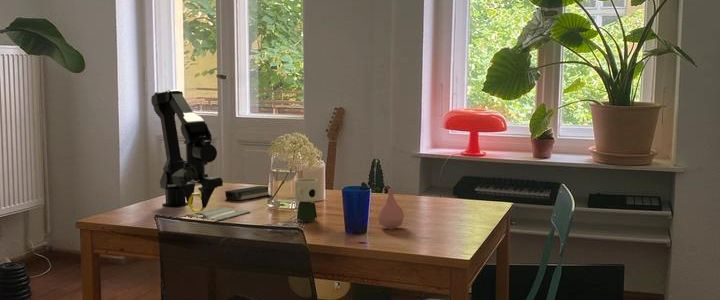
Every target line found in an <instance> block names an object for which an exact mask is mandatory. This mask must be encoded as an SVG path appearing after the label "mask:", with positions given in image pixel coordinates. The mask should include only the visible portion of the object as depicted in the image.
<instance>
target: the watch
mask: <svg viewBox="0 0 720 300" xmlns="http://www.w3.org/2000/svg"><path fill="white" fill-rule="evenodd" d="M194 197H198V198H199V199H200V200H201V201H202V198H201V192H194V193H192V195H191V196H190V197H189V200H188V202H187V203H188V204H189V205H188V204H187V205H188V207H189V209H190V210H191V211H192V212H203V211H205V210H204V209H205V208H203V207H202V206H201V208H200V209H196V208H195V207H194V206H193V202H192V198H193V199H194Z"/></svg>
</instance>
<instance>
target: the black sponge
mask: <svg viewBox="0 0 720 300" xmlns="http://www.w3.org/2000/svg"><path fill="white" fill-rule="evenodd" d="M224 193H225V198H226V199H227V200H233V201H242V200H248V199H254V198H259V197H264V196H269V195H268V186H267V185H265V186H264V185H263V186H262V185H259V186H256V185H255V186H249V187H243V188H237V189H232V190H231V189H230V190H225V191H224Z"/></svg>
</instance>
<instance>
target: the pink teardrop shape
mask: <svg viewBox="0 0 720 300" xmlns="http://www.w3.org/2000/svg"><path fill="white" fill-rule="evenodd" d="M404 218H405V217H404V210H403V209H402V207H401V206H400V205H399V204H398V203H397V200H396V199H395V197H394V188H393V187H392V188H391V187H390V188H387V198H386V200H385V202H384V204H382V206H381V207H380V208H379V209H378V214H377V220H378V223H379V225H380V226H382V227H384V228H386V229H387V230H395V228H397V227H400V226H402V224H403V221H404Z"/></svg>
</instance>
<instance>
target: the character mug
mask: <svg viewBox="0 0 720 300" xmlns="http://www.w3.org/2000/svg"><path fill="white" fill-rule="evenodd" d="M318 189H319V180H318V178H312V177H302V178H296V179H295V180H294V196H295V197H294V198H295V201H297V202H299V203H298V206H297V213H296V220H298V221H302V222H304V221H306V222H313V221H314V222H315V221H317V220H318V217H317V208H316V203H315V202H316V201H318V199H319V194H318Z"/></svg>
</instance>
